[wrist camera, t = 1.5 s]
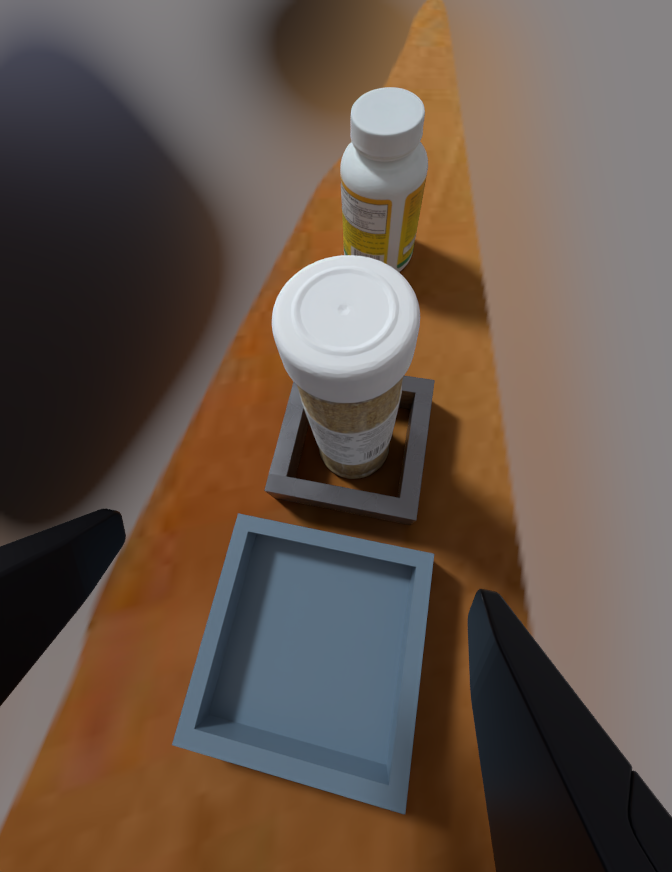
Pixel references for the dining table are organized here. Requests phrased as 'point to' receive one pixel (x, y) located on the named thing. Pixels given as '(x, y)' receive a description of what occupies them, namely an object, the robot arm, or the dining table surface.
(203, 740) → the tray
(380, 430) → the sprinkles bottle
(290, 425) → the bottle holder
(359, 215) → the supplement bottle
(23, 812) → the dining table surface
